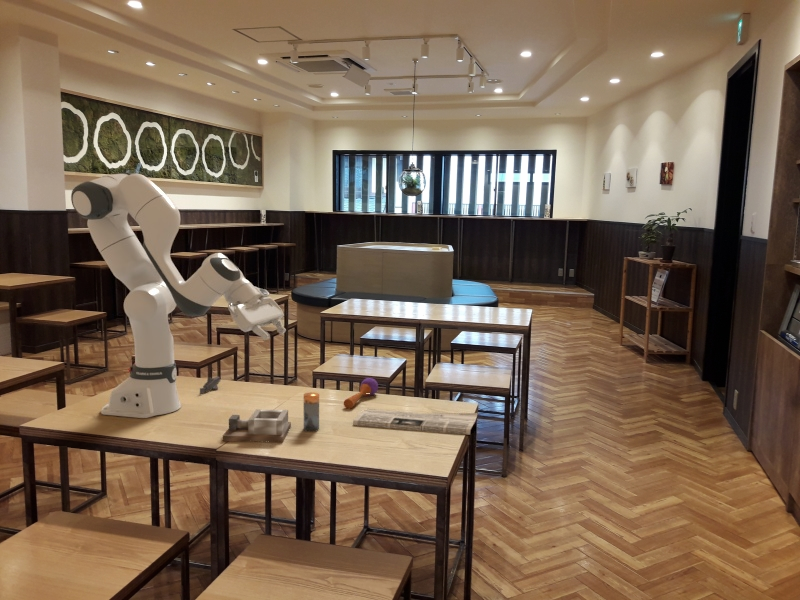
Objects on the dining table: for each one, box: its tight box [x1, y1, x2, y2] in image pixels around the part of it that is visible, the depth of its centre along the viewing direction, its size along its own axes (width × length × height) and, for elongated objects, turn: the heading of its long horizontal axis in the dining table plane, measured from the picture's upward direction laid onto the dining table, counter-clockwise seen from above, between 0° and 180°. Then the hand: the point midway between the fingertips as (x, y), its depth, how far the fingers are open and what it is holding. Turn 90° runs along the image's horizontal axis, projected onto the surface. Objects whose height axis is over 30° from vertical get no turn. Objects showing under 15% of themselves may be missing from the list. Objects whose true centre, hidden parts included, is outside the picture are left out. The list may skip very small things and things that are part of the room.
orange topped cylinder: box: [303, 392, 320, 432], centre depth 170 cm, size 4×4×10 cm
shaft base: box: [222, 408, 292, 443], centre depth 166 cm, size 16×12×6 cm
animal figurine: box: [199, 376, 221, 395], centre depth 207 cm, size 12×4×5 cm, turn 165°
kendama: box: [343, 377, 379, 409], centre depth 199 cm, size 6×6×20 cm
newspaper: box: [352, 408, 478, 436], centre depth 177 cm, size 35×12×4 cm, turn 80°
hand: (275, 335), depth 174 cm, fingers open, 8 cm apart
